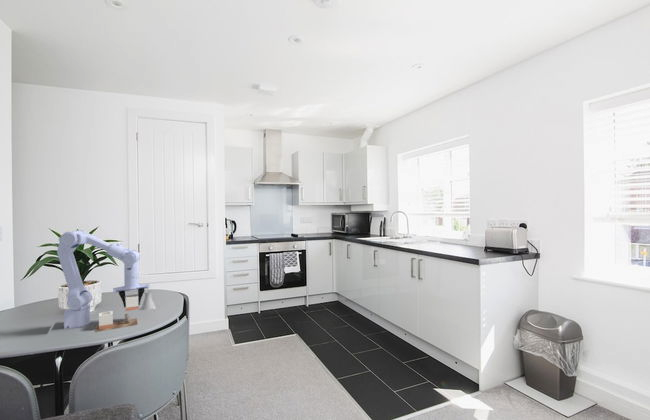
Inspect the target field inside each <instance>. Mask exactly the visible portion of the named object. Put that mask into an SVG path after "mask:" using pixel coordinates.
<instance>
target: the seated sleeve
mask: <svg viewBox="0 0 650 420" xmlns="http://www.w3.org/2000/svg"><path fill="white" fill-rule="evenodd" d="M113 314H114V313H113V310H109V311H102V312H99V313H98V324H99V330H100V329H105V328H111V327H113V322H114V317H113V316H114V315H113Z"/></svg>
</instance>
